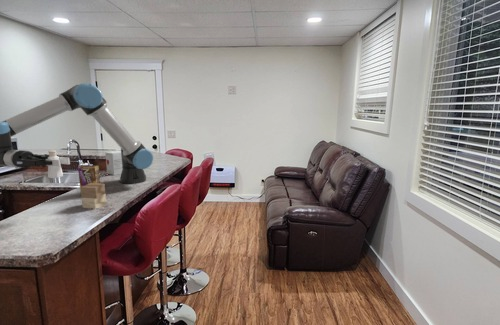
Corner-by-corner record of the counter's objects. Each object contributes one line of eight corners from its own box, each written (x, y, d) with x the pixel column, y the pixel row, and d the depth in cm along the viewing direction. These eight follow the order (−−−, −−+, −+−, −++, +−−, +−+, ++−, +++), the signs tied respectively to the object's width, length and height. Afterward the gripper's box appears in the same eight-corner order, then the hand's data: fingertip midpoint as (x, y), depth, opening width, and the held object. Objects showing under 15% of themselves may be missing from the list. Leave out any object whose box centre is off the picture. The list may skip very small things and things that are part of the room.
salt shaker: (66, 174, 124) (63, 149, 122) (58, 178, 119) (54, 151, 116) (53, 174, 124) (49, 149, 121) (44, 178, 118) (41, 151, 116)
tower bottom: (94, 202, 139) (93, 193, 138) (106, 204, 138) (105, 194, 137) (82, 207, 133) (81, 197, 132) (95, 209, 131) (94, 198, 130)
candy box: (101, 193, 154) (99, 165, 151) (97, 195, 150) (94, 167, 147) (85, 192, 154) (82, 165, 151) (80, 195, 150) (77, 166, 147)
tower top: (91, 193, 138) (90, 183, 137) (105, 193, 138) (104, 183, 137) (81, 197, 131) (80, 187, 130) (96, 198, 131) (95, 187, 130)
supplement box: (106, 173, 197) (104, 151, 194) (118, 171, 204) (117, 150, 201) (113, 175, 192) (112, 153, 189) (126, 173, 199) (124, 151, 196)
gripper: (39, 163, 133) (81, 166, 127) (0, 171, 117) (46, 175, 111) (37, 147, 131) (79, 150, 126) (-3, 153, 115) (44, 156, 110)
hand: (64, 162), depth 119 cm, fingers closed on salt shaker, 4 cm apart
